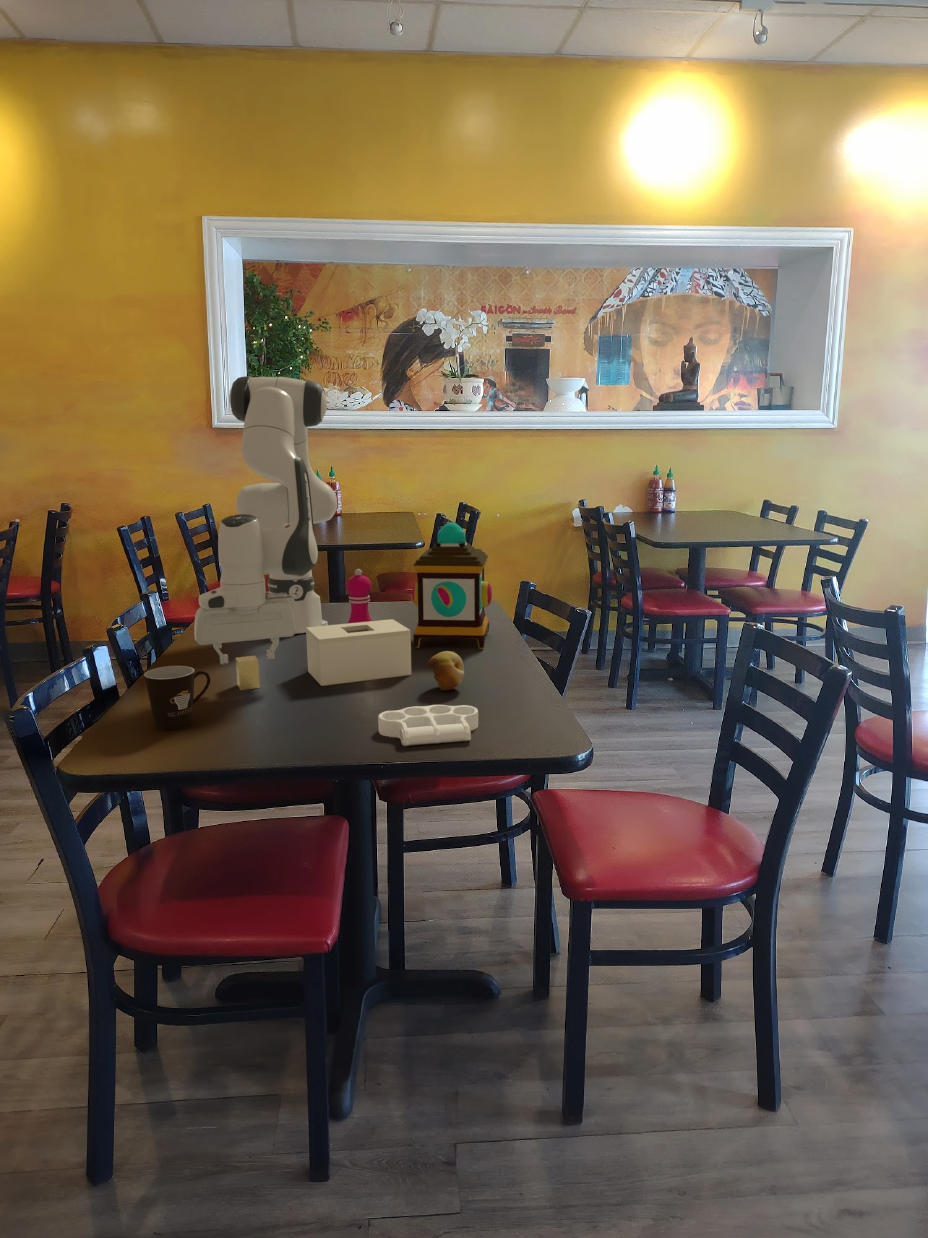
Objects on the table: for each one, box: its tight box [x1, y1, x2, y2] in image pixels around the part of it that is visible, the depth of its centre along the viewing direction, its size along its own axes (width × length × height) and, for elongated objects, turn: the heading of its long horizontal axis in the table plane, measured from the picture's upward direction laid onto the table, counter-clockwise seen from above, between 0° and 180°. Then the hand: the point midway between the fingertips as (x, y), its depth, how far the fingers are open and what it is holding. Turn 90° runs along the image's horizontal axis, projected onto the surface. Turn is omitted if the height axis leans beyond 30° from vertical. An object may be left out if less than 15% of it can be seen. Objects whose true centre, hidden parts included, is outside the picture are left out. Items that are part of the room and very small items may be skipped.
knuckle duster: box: [377, 704, 479, 747], centre depth 152 cm, size 3×18×15 cm
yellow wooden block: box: [235, 655, 261, 691], centre depth 179 cm, size 4×4×6 cm
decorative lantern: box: [411, 521, 493, 650], centre depth 214 cm, size 20×20×30 cm
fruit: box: [427, 650, 465, 691], centre depth 176 cm, size 8×8×8 cm
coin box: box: [305, 618, 412, 687], centre depth 188 cm, size 12×20×10 cm, turn 113°
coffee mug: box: [143, 665, 211, 732], centre depth 156 cm, size 12×9×10 cm
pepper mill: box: [345, 568, 373, 624], centre depth 206 cm, size 7×7×20 cm
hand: (247, 661), depth 178 cm, fingers open, 8 cm apart
